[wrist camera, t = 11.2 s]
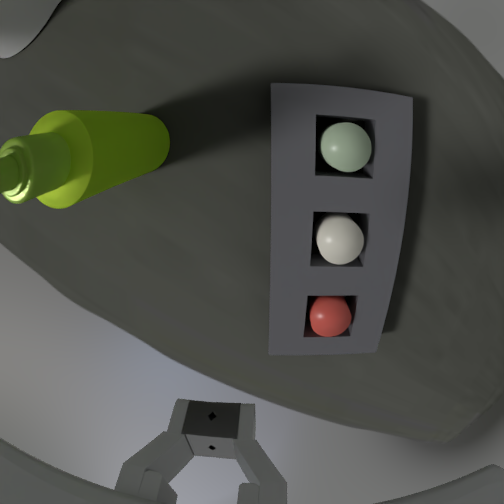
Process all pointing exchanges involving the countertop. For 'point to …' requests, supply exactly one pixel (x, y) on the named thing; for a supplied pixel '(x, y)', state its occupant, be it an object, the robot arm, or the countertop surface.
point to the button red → (329, 315)
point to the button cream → (338, 237)
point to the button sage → (344, 146)
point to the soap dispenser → (80, 155)
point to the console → (335, 200)
